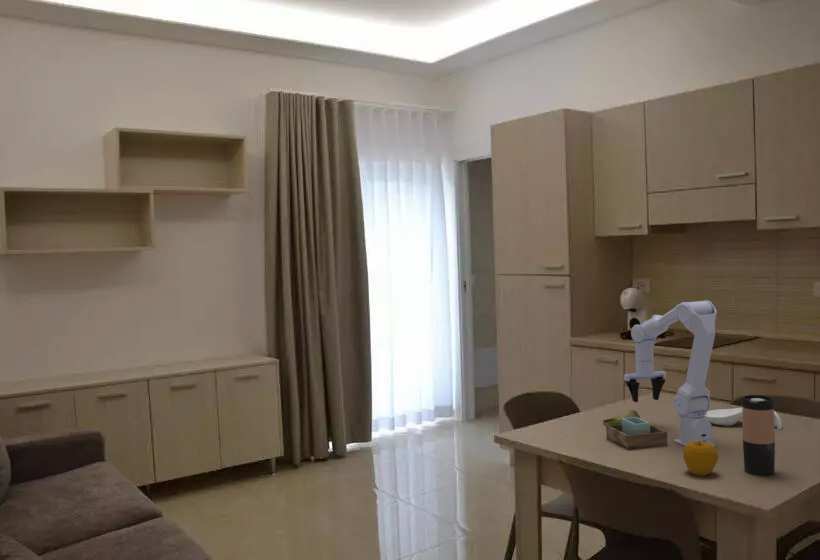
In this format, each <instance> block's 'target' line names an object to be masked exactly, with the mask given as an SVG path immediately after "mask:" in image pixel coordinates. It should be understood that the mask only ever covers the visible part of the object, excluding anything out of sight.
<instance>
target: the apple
mask: <svg viewBox="0 0 820 560" xmlns="http://www.w3.org/2000/svg"><path fill="white" fill-rule="evenodd" d="M682 452H683V455H682V456H683V457H682V458H683V460H684V464H685V466H686V467H687V469H688V470H689V472H690V473H691V474H692V475H695V476H699V477H700V476H701V477H703V476H704V477H706V476H708V475H709V474H711V473H712V471H714V468H715V467H716V465H717V463H718V461H719V453H718V451H717V450H716V448H715V447H713V445H711V444H709V443H707V442H702V441H691V442H689V443H687V444H686V446H684V447H683V450H682Z"/></svg>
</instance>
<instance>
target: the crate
mask: <svg viewBox="0 0 820 560" xmlns="http://www.w3.org/2000/svg"><path fill="white" fill-rule="evenodd" d="M605 426H606V425H605ZM605 431H606V440H608V441H610V442H612V443H613V444H615V445H618V446H619V447H621V448H623V449H625V450H627V451H634V450H635V451H636V450H643V449H651V448H652V449H653V448H660V447H668V431H666V430H664V429H662V428H659V427H657V426H654V425H652V424H650V433H646V434H637V435H627V434H625V433H622V424H618V425H609V426H606V429H605Z"/></svg>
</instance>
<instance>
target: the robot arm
mask: <svg viewBox="0 0 820 560" xmlns="http://www.w3.org/2000/svg"><path fill="white" fill-rule="evenodd" d="M717 314H718V311H717V309H716V307H715V306H714V304H713V302H711V301H710V300H707V299H705V300H699V301H688V302H687V301H682V302H680V303H679V304H676V305H675V307H673V308H672V309H671V310H669V311H668V312H666V313H665V314H663V315H661V314H653V315H651V318H650V319H648V320H644V321H643V323H641V324H634V325H633V326H632V327H631V331H630V335H631V339H632V340H633V341H634V347H635V350H634V352H635V355H634V356H635V372H632V373H626V374H623V381H624V382H625V384H626V386H627V388H628V389H629V392H630V395H631V399H632V402H634V403H638V402H639V388H640V384H641V383H640V382H638V381H639V380H640V381H641V380H650V382H651V387H652V388H651V389H652V398H653V399H652V400H655V401H659V399H660V395H661V391H662V388H663V386H664V384H665V383H666V378H667V372H666V371H663V370H660V371H655V367H654V366H655V365H654V364H655V359H654V346H655V345H656V339H657V337H658V336H660V335H661V334H663V333H665V332H667V331H668V329H669V327H670V325H672V324H674V323H676V322H678V321H680V322H681V324H682V325H683V326H684V327H685V328H686V329H687V330H688V331H689V332H690V333H692V334H693V335H694V336H693V342H692V346H691V350H690V351H691V352H690V355H689V356H690V357H689V362H688V366H687V372H686V376H685V377H686V378H685V382H684V384H682V385H681V386H680V387H679V388H678V389H677V391H676V395H675V396H674V398H673V399H672V400H673V401H672V403H673V404H672V406H673V408H674V409H673V410H675V413H677V415H678V416H679V439H674V440H673V442H675V443H677V444H679V445H682V446H684V447H685V446H686V444H687V443H689V442H691V441H702V442H707V443H709V444H711V445H713V447H714V448H715V447H716V445H715V444H713V426H712V423H711V422H709V421H708V420H707V419H706V418H705V415H707V411H710V409H711V398H710V397H711V391H710V390H709V389H708V388H707V387H706V381H707V377H708V371H709V366H710V362H711V357H712V352H713V347H714V341H715V336H716V325H715V324H716V320H717Z"/></svg>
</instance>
